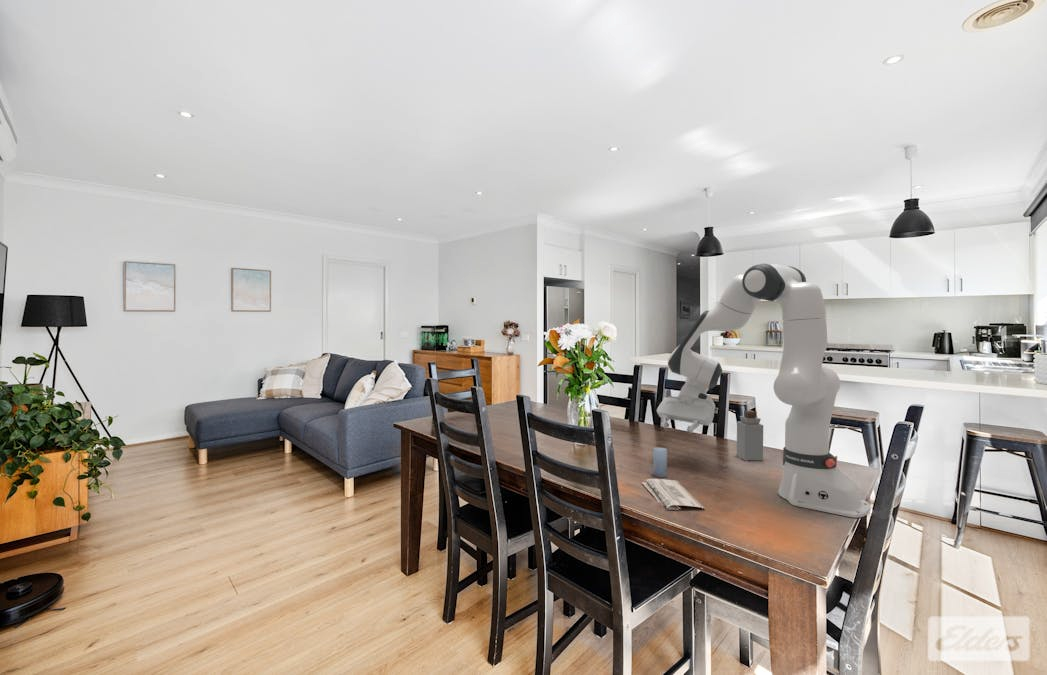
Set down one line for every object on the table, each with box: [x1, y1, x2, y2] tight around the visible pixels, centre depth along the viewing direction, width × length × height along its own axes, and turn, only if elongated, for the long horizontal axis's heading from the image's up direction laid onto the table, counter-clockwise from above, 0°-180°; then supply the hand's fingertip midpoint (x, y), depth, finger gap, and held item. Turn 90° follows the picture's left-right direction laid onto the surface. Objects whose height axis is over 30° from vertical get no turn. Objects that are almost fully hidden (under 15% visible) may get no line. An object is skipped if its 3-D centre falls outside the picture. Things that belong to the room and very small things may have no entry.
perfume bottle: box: [736, 410, 764, 462], centre depth 175 cm, size 7×7×18 cm
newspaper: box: [641, 478, 706, 511], centre depth 138 cm, size 23×12×2 cm, turn 0°
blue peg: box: [652, 447, 668, 478], centre depth 157 cm, size 4×4×9 cm
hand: (676, 429), depth 164 cm, fingers open, 8 cm apart
